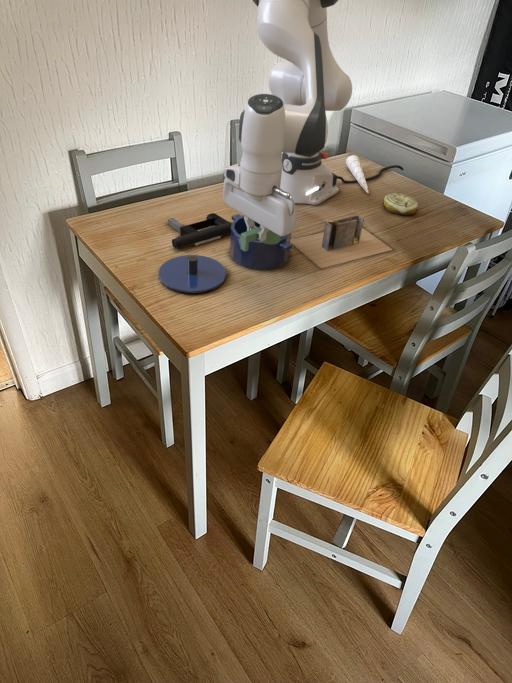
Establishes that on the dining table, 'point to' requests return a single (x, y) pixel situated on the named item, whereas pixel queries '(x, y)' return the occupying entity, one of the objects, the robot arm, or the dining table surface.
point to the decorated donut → (400, 204)
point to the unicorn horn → (356, 170)
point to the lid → (192, 273)
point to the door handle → (195, 237)
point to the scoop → (251, 236)
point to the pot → (257, 248)
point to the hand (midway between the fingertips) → (256, 236)
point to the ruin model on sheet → (340, 242)
